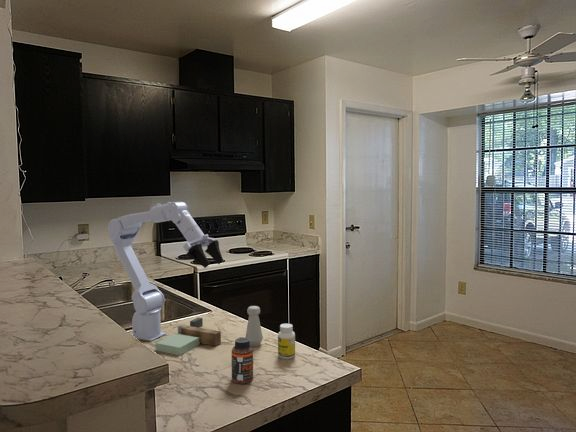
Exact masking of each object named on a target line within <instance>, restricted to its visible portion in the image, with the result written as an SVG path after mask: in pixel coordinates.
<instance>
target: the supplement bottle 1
mask: <svg viewBox="0 0 576 432" xmlns="http://www.w3.org/2000/svg"><path fill="white" fill-rule="evenodd" d="M249 344H250V341H249V339H248V338H245V337H238V338H235V340H234V346H233V347H232V349H231V380H232V382H234V383H236V384H239V385H240V384H241V385H243V384H247V383H250V382H252V380H253V379H254V349H253V348H254V347H251V346H250V345H249Z"/></svg>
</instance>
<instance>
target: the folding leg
mask: <svg viewBox="0 0 576 432" xmlns="http://www.w3.org/2000/svg"><path fill="white" fill-rule="evenodd" d="M177 334H183V335H188V336H194V337H199V344H204V345H208V346H209V345H210V346H215V347H216V346H218V345H220V344H221V343H222V332H221V330H214V329H209V328H204V327H199V328H198V327H192V326H190V325H187V324H180V325H177Z"/></svg>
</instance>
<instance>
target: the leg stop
mask: <svg viewBox="0 0 576 432" xmlns="http://www.w3.org/2000/svg"><path fill="white" fill-rule="evenodd" d="M203 324H204V323H203V317H196V318H193V319H191V320H190V321H189V326H192V327H198V328H202V327H203Z"/></svg>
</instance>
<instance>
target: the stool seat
mask: <svg viewBox="0 0 576 432" xmlns="http://www.w3.org/2000/svg"><path fill="white" fill-rule="evenodd" d="M198 346H200V343H199V337H194V336H188V335H183V334H178V332H176V333H173V334H171V335H169V336H166V337H165V338H162V339H161V340H159V341H156V342H155V351H157V352H161V353H168V354H173V355H176V356H182V355H184V354H185V353H187V352H188V351H191V350H192V349H194V348H196V347H198Z"/></svg>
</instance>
